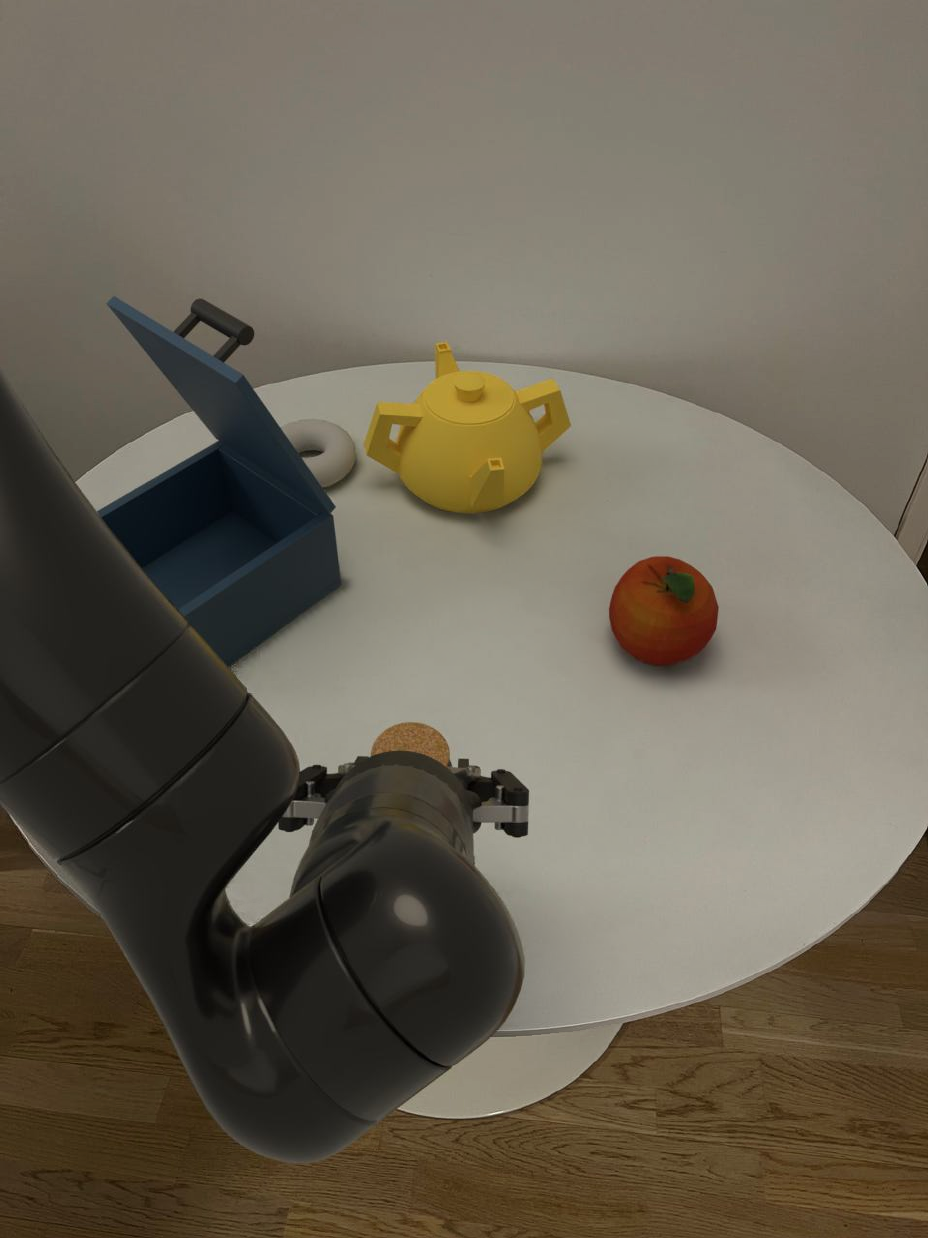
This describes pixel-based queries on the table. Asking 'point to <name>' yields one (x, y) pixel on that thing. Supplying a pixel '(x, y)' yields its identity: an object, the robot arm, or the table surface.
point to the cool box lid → (222, 392)
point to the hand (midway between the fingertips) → (412, 773)
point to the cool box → (229, 547)
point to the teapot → (468, 437)
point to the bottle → (413, 741)
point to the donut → (323, 448)
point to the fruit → (663, 611)
